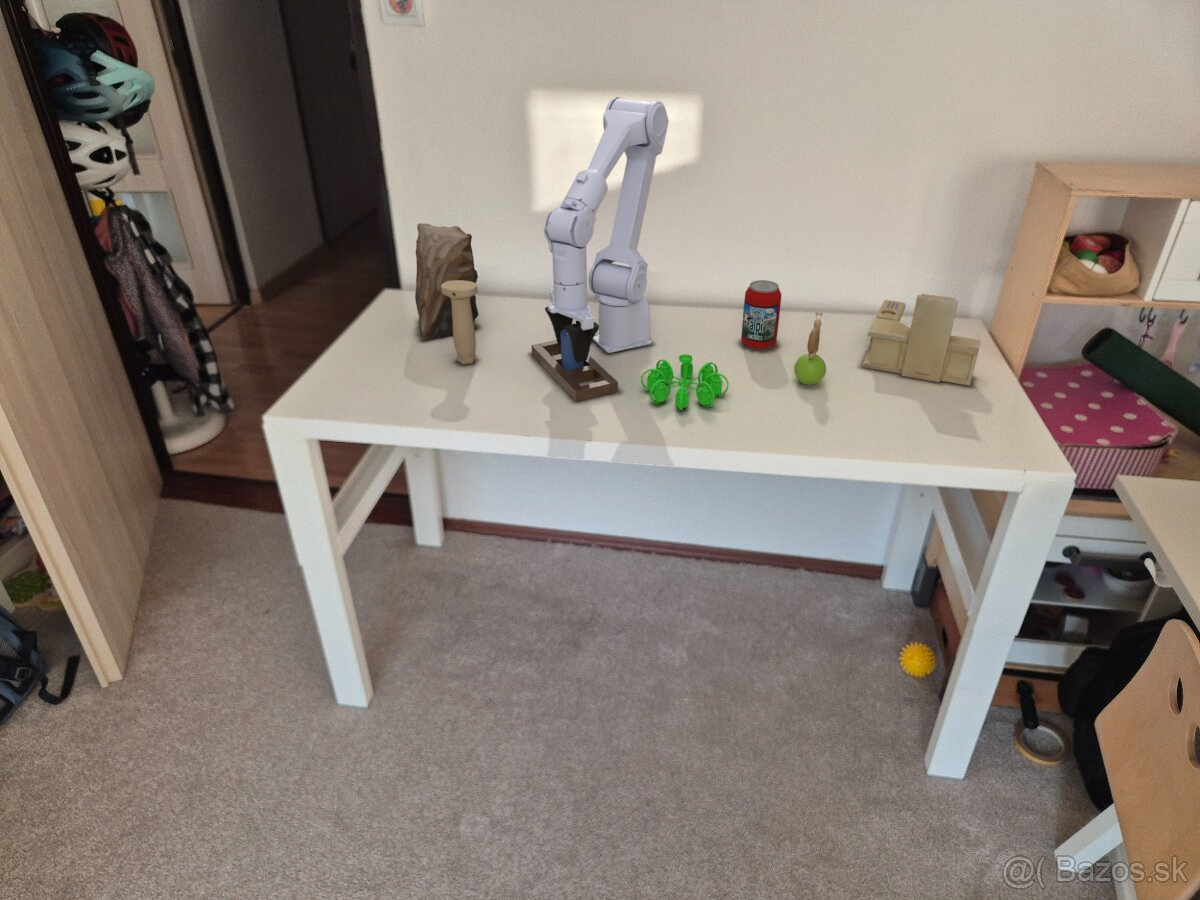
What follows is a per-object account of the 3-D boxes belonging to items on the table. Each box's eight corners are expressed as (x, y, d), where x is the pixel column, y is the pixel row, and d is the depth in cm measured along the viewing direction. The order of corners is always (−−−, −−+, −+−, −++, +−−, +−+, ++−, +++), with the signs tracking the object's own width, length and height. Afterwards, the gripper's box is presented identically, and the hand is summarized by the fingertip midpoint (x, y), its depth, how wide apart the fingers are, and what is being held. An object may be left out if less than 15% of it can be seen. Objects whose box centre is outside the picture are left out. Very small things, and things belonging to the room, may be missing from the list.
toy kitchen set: (977, 350, 158) (996, 274, 150) (969, 388, 146) (989, 307, 138) (877, 334, 165) (890, 260, 157) (860, 368, 152) (874, 290, 144)
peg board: (570, 346, 162) (570, 337, 161) (618, 392, 146) (618, 381, 145) (531, 354, 159) (531, 344, 158) (576, 401, 143) (575, 391, 142)
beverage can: (736, 348, 160) (741, 289, 154) (745, 334, 166) (750, 277, 159) (771, 354, 158) (778, 294, 152) (779, 340, 163) (785, 281, 157)
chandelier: (645, 371, 152) (646, 336, 149) (728, 376, 150) (731, 341, 147) (635, 411, 140) (636, 374, 136) (725, 417, 138) (728, 380, 134)
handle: (477, 369, 154) (470, 292, 146) (445, 365, 156) (436, 288, 148) (487, 358, 158) (481, 282, 150) (456, 354, 159) (448, 279, 151)
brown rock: (417, 316, 175) (405, 222, 164) (478, 311, 177) (469, 217, 166) (420, 341, 164) (406, 242, 154) (484, 335, 167) (475, 236, 156)
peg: (578, 365, 155) (577, 325, 150) (587, 374, 152) (586, 334, 147) (558, 370, 153) (557, 329, 149) (567, 379, 150) (565, 338, 146)
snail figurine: (826, 376, 150) (835, 313, 144) (822, 392, 145) (831, 328, 139) (795, 371, 152) (803, 309, 145) (790, 387, 147) (798, 324, 140)
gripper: (532, 270, 147) (536, 341, 154) (565, 297, 136) (567, 372, 143) (569, 264, 150) (571, 334, 157) (604, 290, 139) (605, 364, 146)
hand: (572, 352), depth 150 cm, fingers open, 7 cm apart
